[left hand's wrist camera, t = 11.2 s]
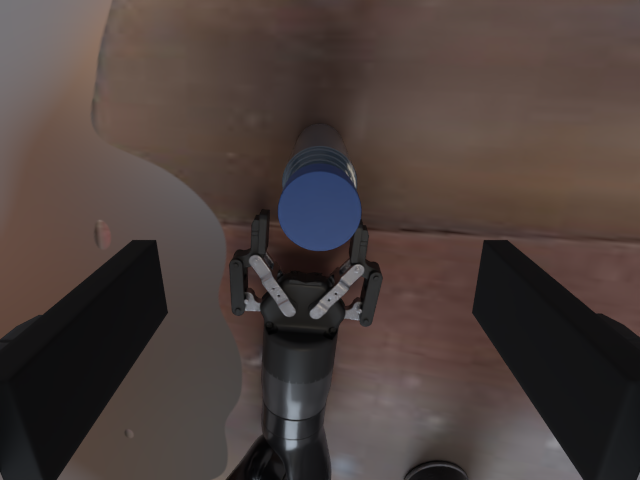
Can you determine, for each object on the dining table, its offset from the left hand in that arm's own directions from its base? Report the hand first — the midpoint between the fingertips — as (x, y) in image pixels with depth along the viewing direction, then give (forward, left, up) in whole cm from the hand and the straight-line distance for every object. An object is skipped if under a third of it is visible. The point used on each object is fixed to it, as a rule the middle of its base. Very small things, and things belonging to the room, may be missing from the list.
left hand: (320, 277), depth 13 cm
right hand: (+5, +1, -22) cm, 23 cm away
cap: (0, 0, -7) cm, 7 cm away
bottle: (0, 0, -29) cm, 29 cm away
